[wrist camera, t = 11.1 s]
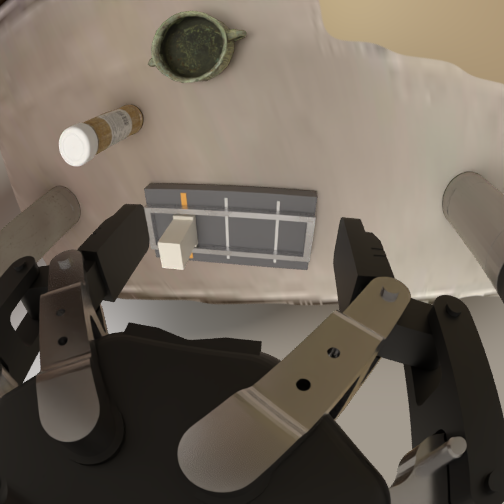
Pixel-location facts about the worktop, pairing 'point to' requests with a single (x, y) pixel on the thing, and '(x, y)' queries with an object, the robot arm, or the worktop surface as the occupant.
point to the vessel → (193, 47)
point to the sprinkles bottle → (98, 134)
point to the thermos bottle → (38, 227)
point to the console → (238, 222)
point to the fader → (178, 241)
